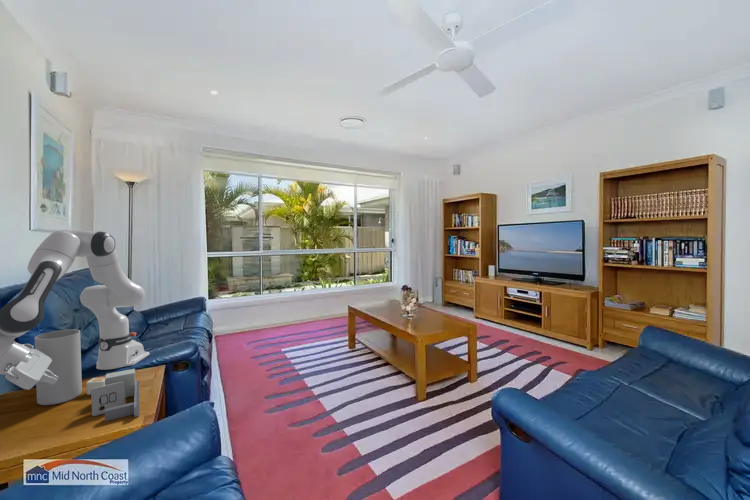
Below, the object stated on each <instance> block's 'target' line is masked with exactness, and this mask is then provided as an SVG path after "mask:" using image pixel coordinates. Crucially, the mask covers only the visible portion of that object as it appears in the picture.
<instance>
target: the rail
mask: <svg viewBox="0 0 750 500" xmlns="http://www.w3.org/2000/svg"><path fill="white" fill-rule="evenodd" d="M140 383H141V382H140V380H138V379H135V393H134V398H133V402H134V414H133V418H137V417H140V404H141V402H140V401H141V399H140V398H141V397H140V395H141V387H140V386H141V384H140Z"/></svg>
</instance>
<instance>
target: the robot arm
mask: <svg viewBox="0 0 750 500" xmlns="http://www.w3.org/2000/svg"><path fill="white" fill-rule="evenodd" d="M76 257H79V258H80V257H81V258H84V257H85V259H86V261H87V265H88V269H89V271H90V275H91V277H92V279H93V280H94V281H95V282H97V283H99V284H98V285H97V284H96V285H92V286H87V287H85V288H84V289H83V290H82V291H81V293H80V297H79V300H80V304H82V305H83V306H84V307H85V308H88V309H89V310H90V311H91V312H92V313H93V314H94V315H95V317H96V319H97V321H98V326H99V327H98V328H99V337H98V346H99V348H98V353H97V354H98V355H97V361H96V362H95V363H96V364H95V365H96V367H95V368H96V369H97V370H101V371H102V370H103V371H104V370H105V371H106V370H113V369H114V370H115V369H121V368H123V367H129V366H134V365H136V364H138V363H139V362H140V361H142V360H144V359H145V358H146V357H148V356H149V355H151V354H150V352H149V351H145V348H144V345H143V344H142V343H141V342H139V341H137V340H135V339H133V337H136V336H137V332H133V331H132V332H130V327H129V323H130V321H129V320H130V319H129V318H128V316H126V315H125V314H122V313H120V311H119V310H117V308H131V307H135V306H139V305H141V304H143V302H144V300H145V298H146V291H145V289H144V287H142V286H141V285H140V284H139V285H138V284H137V283H135V282H133V281H132V280H131V279H130V278H128V276H127V275H125V273H124V271H123V269H122V266H121V265H122V264H121V262H120V258H119V256H118V251H117V250H116V239H115V238H114V237H113V236H112V235H111V234H110V233H108V232H106V231H105V232H104V231H96V230H95V231H94V230H85V229H81V230H77V229H75V230H68V229H67V230H66V229H62V230H57V231H53V232H52V233H51V234H49V235H48V236H47V237H46V238H45V239H44V240H43V241H42V242H41V243H40V244H39V246H38V247H37V248H36V249H35V251H34V253H33V254H32V255H31V257H30V259H29V261H28V265H27V271H28V273H30V277H29V279H28V281H27V282H26V284H25V285H24V287H23V288H22V290H21V292H20V293H19V295H17V297H16V298H14V299H12V300H11V301H9V302H8V303H6V304H4V305H3V306H2V307H1V308H0V375H2V376H5V379H6V380H7V381H9V382H10V383H12V384H14V385H16V386H17V387H18V388H21V389H24V390H28V391H29V390H31V389H32V388H33V387H34V386H36V383H37V382H38V381H41V382H47V383H49V384H54V383H55V382H56V381H57V380H58V376H56V375H54V374H53V373H52V372H51V371H50V370H48V369H47V368H48V367H49V365H50V363H51V362H52V359H51V358H50V357H48V356H47V355H45V354H44V353H42V352H40V351H38V350H36V349H35V345H32V344H30V343H24V344H22V343H19V342H16V341H15V339H16V338H19V337H22V336H23V335H25V334H26V333H28V332H29V331H30V330H32V329H34V328H36V327H37V326H39V325H40V324H41V323H42V321H43V319H44V316H45V302H46V299H48V296H49V294H50V293H51V291H52V289H53V288H54V285H55V284H56V282H57V281H58V280H60V279H61V278H63V276H64V275H65V274H66V273H67V272H68V270H69V269H70V268H71V267H72V264H74V261H75V259H76Z"/></svg>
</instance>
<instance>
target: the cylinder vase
mask: <svg viewBox="0 0 750 500" xmlns="http://www.w3.org/2000/svg"><path fill="white" fill-rule="evenodd" d="M81 343H82V341H81V330H79V329H61V330H60V329H59V330H53V331H48V332H45V333H40V334H38V335H36V336H35V337H34V349H36V350H38V351H40V352H42V353H44V354H45V355H47V356H48V357H50V358H51V359H52V362H51V363H50V365H49V367H48V368H47V369H48V370H50V371H51V372H52V373H53V374H54V375H56V376H58V380H57V381H56V382H55V383H54V384H49V383H47V382H41V381H38V382H37V383H36V384H35V387H36V402H37V405H40V406H52V405H57V404H58V405H59V404H62V403H66V402H69V401H71V400H73V399H76V398H77V397H78V396H80V395H81V394H82V392H83V384H82V382H83V381H82V378H83V377H82V352H81V351H82V350H81V349H82V347H81V345H82V344H81Z"/></svg>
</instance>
